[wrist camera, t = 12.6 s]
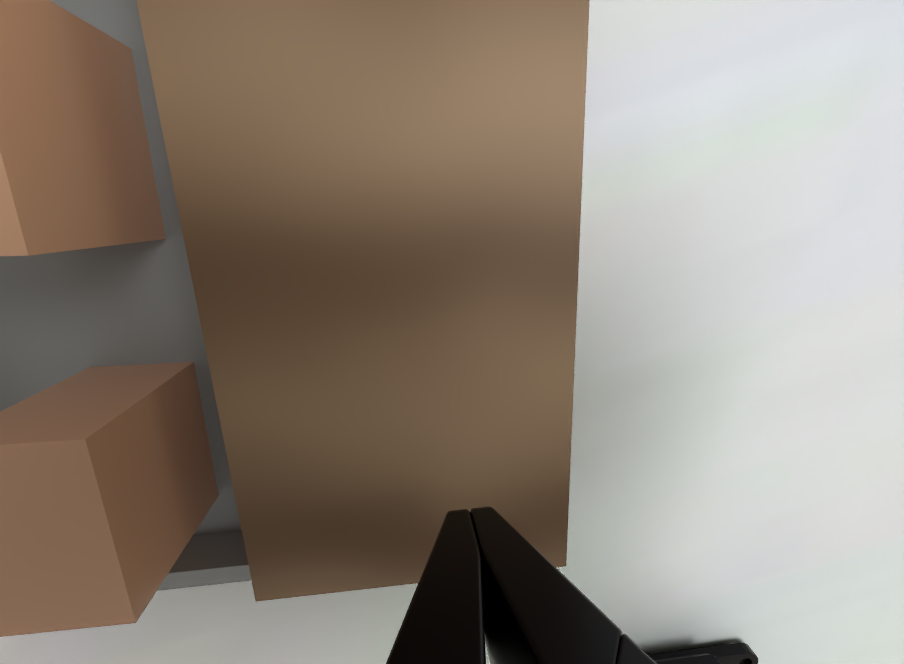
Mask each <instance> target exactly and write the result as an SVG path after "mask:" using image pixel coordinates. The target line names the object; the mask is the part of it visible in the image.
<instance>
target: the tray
mask: <svg viewBox="0 0 904 664" xmlns="http://www.w3.org/2000/svg"><path fill="white" fill-rule="evenodd" d="M50 1H51V2H53V3H55V4H57V5H58V6H60V7H62V8H63V9H65V10H67V11H68V12H70V13H72V14H73V15H75V16H77V17H79V18H80V19H82V20H84V21H85V22H87V23H89V24H90V25H92V26H94V27H96V28H97V29H99V30H101V31H102V32H104V33H106V34H107V35H109V36H111V37H113V38H114V39H116V40H118V41H119V42H121V43H123V44H124V45H126V46H128V47H129V48H131V49H132V55H133V60H134V66H135V71H136V77H137V82H138V87H139V93H140V98H141V104H142V109H143V115H144V120H145V126H146V131H147V137H148V142H149V148H150V153H151V159H152V164H153V170H154V175H155V181H156V186H157V192H158V197H159V203H160V208H161V214H162V219H163V224H164V230H165V235H166V239H162V240H153V241H145V242H137V243H129V244H120V245H112V246H104V247H96V248H87V249H79V250H71V251H63V252H54V253H46V254H38V255H30V256H0V412H1V411H3V410H5V409H7V408H9V407H11V406H13V405H15V404H17V403H19V402H21V401H23V400H25V399H27V398H29V397H31V396H33V395H35V394H37V393H39V392H41V391H43V390H45V389H47V388H49V387H51V386H53V385H55V384H57V383H59V382H61V381H63V380H65V379H67V378H69V377H71V376H73V375H75V374H77V373H79V372H81V371H83V370H85V369H87V368H89V367H100V366H120V365H139V364H159V363H178V362H194V367H195V372H196V378H197V383H198V388H199V393H200V399H201V404H202V409H203V414H204V420H205V425H206V430H207V435H208V441H209V446H210V451H211V456H212V462H213V467H214V472H215V477H216V483H217V488H218V493H219V496H218V497H217V499H216V501H215V502H214V504H213V505H212V507H211V508H210V510H209V511H208V513H207V514H206V516H205V517H204V519H203V520H202V522H201V524H200V525H199V527H198V528H197V530H196V531H195V533H194V534H193V536H192V537H191V539H190V540H189V542H188V543H187V545H186V546H185V548H184V550H183V551H182V553H181V554H180V556H179V557H178V559H177V560H176V562H175V563H174V565H173V566H172V568H171V569H170V571H169V573H168V574H167V576H166V577H165V579H164V580H163V582H162V583H161V585H160V586H159V588H158V589H157V591H158V590H167V589H176V588H185V587H194V586H203V585H213V584H222V583H231V582H240V581H249V580H251V575H250V570H249V565H248V560H247V555H246V550H245V545H244V539H243V534H242V529H241V524H240V519H239V514H238V509H237V504H236V499H235V494H234V489H233V484H232V479H231V474H230V469H229V464H228V459H227V454H226V449H225V444H224V439H223V434H222V429H221V424H220V419H219V414H218V409H217V404H216V399H215V394H214V389H213V384H212V378H211V373H210V368H209V363H208V358H207V353H206V348H205V343H204V338H203V333H202V328H201V323H200V318H199V313H198V308H197V303H196V298H195V293H194V288H193V283H192V278H191V273H190V268H189V263H188V258H187V253H186V248H185V243H184V238H183V233H182V228H181V223H180V217H179V212H178V207H177V202H176V197H175V192H174V187H173V182H172V177H171V172H170V167H169V162H168V157H167V152H166V147H165V142H164V137H163V132H162V127H161V122H160V117H159V112H158V107H157V102H156V97H155V92H154V87H153V82H152V77H151V72H150V67H149V62H148V56H147V51H146V46H145V41H144V36H143V31H142V26H141V21H140V16H139V11H138V6H137V1H136V0H50Z"/></svg>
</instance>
